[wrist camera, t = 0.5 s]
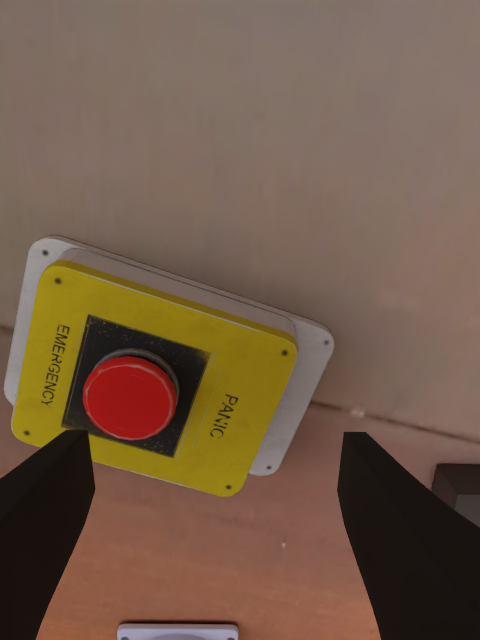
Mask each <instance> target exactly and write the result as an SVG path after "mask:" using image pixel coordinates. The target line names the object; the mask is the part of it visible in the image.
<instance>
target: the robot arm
mask: <svg viewBox="0 0 480 640" xmlns="http://www.w3.org/2000/svg"><path fill="white" fill-rule="evenodd" d="M94 492H95V482H94V474H93V466H92V458H91V450H90V442H89V434H88V430H65V431H64V432H62V433H61V434H59V435H58V436H57V437H55V438H54V439H53V440H51V441H50V442H49V443H47V444H46V445H45V446H43V447H42V448H41V449H40V450H38V451H37V452H36V453H34V454H33V455H32V456H30V457H29V458H28V459H26V460H25V461H24V462H22V463H21V464H20V465H18V466H17V467H16V468H15V469H13V470H12V471H11V472H9V473H8V474H6V475H5V476H4V477H2V478H1V479H0V640H36V637H37V634H38V631H39V628H40V625H41V622H42V620H43V618H44V615H45V613H46V610H47V608H48V605H49V603H50V601H51V598H52V596H53V594H54V592H55V590H56V587H57V585H58V583H59V581H60V578H61V576H62V574H63V572H64V570H65V567H66V565H67V563H68V561H69V558H70V556H71V554H72V552H73V550H74V547H75V545H76V543H77V540H78V538H79V536H80V534H81V531H82V529H83V527H84V524H85V521H86V518H87V515H88V512H89V509H90V506H91V502H92V499H93V495H94ZM337 492H338V497H339V502H340V507H341V512H342V516H343V521H344V525H345V528H346V531H347V534H348V537H349V540H350V543H351V546H352V549H353V552H354V555H355V558H356V561H357V564H358V567H359V570H360V573H361V576H362V578H363V581H364V584H365V587H366V590H367V593H368V596H369V599H370V602H371V605H372V608H373V611H374V615H375V618H376V621H377V625H378V628H379V632H380V637H381V640H480V527H478V526H477V525H475V524H474V523H472V522H471V521H469V520H468V519H467V518H465V517H464V516H462V515H461V514H459V513H458V512H457V511H455V510H454V509H453V508H451V507H450V506H449V505H447V504H446V503H445V502H444V501H442V500H441V499H440V498H439V497H437V496H436V495H435V494H434V493H432V492H431V491H430V490H429V489H428V488H426V487H425V486H424V485H423V484H422V483H420V482H419V481H418V480H417V479H416V478H415V477H414V476H412V475H411V474H410V473H409V472H408V471H407V470H406V469H405V468H403V467H402V466H401V465H400V464H399V463H398V462H397V461H396V460H395V459H394V458H393V457H392V456H391V455H389V454H388V453H387V452H386V451H385V450H384V449H383V448H382V447H381V446H380V445H379V444H378V443H377V442H376V441H375V440H374V439H373V438H372V437H370V436H369V435H368V434H367V433H366V432H344V436H343V445H342V453H341V462H340V471H339V479H338V488H337ZM117 639H118V640H238V627H237V626H235V625H232V624H121V625H120V626H119V627H118V631H117Z"/></svg>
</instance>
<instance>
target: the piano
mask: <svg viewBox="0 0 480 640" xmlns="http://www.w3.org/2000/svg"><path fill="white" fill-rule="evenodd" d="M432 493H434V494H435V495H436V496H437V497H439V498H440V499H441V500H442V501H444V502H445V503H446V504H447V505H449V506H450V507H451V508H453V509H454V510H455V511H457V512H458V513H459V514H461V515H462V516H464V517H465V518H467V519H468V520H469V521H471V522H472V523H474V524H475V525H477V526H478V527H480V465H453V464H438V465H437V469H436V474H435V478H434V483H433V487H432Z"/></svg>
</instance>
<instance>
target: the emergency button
mask: <svg viewBox="0 0 480 640" xmlns="http://www.w3.org/2000/svg"><path fill="white" fill-rule="evenodd" d="M334 344H335V342H334V339H333V337H332V335H331V333H330V331H329V330H328V328H327V327H325V326H323V325H322V324H320V323H318V322H315V321H312V320H310V319H307V318H304V317H301V316H298V315H295V314H292V313H289V312H286V311H283V310H280V309H277V308H274V307H271V306H268V305H265V304H262V303H259V302H256V301H253V300H250V299H247V298H244V297H241V296H238V295H235V294H232V293H229V292H226V291H223V290H220V289H217V288H214V287H211V286H208V285H205V284H202V283H199V282H196V281H193V280H190V279H187V278H184V277H181V276H178V275H175V274H172V273H169V272H166V271H163V270H160V269H157V268H154V267H151V266H148V265H145V264H142V263H139V262H136V261H134V260H131V259H128V258H125V257H122V256H119V255H116V254H113V253H110V252H107V251H104V250H101V249H98V248H95V247H92V246H89V245H86V244H83V243H80V242H77V241H74V240H71V239H68V238H65V237H61V236H52V235H49V236H47V237H45V238H42V239H40V240H38V241H36V242H34V243H33V245H32V246H31V248H30V250H29V252H28V258H27V263H26V269H25V274H24V279H23V285H22V290H21V296H20V301H19V307H18V312H17V318H16V323H15V329H14V334H13V339H12V345H11V350H10V356H9V361H8V367H7V372H6V378H5V383H4V393H5V397H6V398H7V399H8V400H9V402H10V403H11V404H12V405H14V408H13V413H12V418H11V430H12V432H13V434H14V435H15V436H16V438H17V439H19V440H21V441H23V442H25V443H27V444H31V445H34V446H38V447H43V446H45V445H46V444H47V443H49V442H50V441H51V440H53V439H54V438H55V437H57V436H58V435H59V434H61V433H62V432H64V431H65V430H88V434H89V442H90V450H91V458H92V461H93V462H97V463H100V464H104V465H108V466H111V467H115V468H119V469H122V470H126V471H130V472H133V473H137V474H141V475H144V476H148V477H152V478H155V479H159V480H163V481H166V482H170V483H174V484H177V485H181V486H185V487H188V488H192V489H196V490H199V491H203V492H207V493H210V494H214V495H218V496H228V497H229V496H231V495H234V494H236V493H238V491H239V490H240V489H241V488H242V486H243V484H244V482H245V479H246V477H247V475H248V473H249V474H253V475H260V476H266V475H269V474H272V473H274V472H275V471H276V470H277V469H278V468H279V467H280V465H281V462H282V460H283V458H284V456H285V454H286V452H287V450H288V448H289V445H290V443H291V441H292V439H293V437H294V435H295V433H296V430H297V428H298V426H299V424H300V422H301V420H302V418H303V416H304V413H305V411H306V409H307V407H308V405H309V403H310V401H311V398H312V396H313V394H314V392H315V390H316V388H317V386H318V383H319V381H320V379H321V377H322V375H323V373H324V371H325V369H326V366H327V364H328V362H329V360H330V358H331V356H332V354H333V351H334Z"/></svg>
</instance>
